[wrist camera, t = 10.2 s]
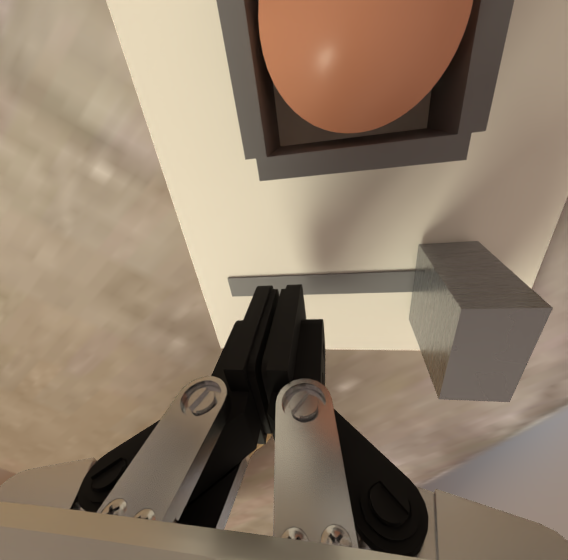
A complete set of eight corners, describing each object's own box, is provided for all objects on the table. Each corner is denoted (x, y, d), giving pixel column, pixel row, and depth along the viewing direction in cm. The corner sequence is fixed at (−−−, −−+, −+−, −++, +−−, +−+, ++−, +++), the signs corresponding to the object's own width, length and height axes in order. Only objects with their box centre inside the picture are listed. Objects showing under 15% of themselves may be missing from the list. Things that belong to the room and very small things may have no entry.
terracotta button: (437, -80, 6) (506, -200, 4) (417, 116, 9) (453, 120, 6) (271, -38, 7) (239, -117, 5) (288, 134, 9) (273, 143, 7)
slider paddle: (477, 241, 10) (552, 308, 7) (458, 318, 12) (509, 402, 8) (418, 244, 10) (461, 309, 7) (408, 318, 12) (438, 399, 9)
